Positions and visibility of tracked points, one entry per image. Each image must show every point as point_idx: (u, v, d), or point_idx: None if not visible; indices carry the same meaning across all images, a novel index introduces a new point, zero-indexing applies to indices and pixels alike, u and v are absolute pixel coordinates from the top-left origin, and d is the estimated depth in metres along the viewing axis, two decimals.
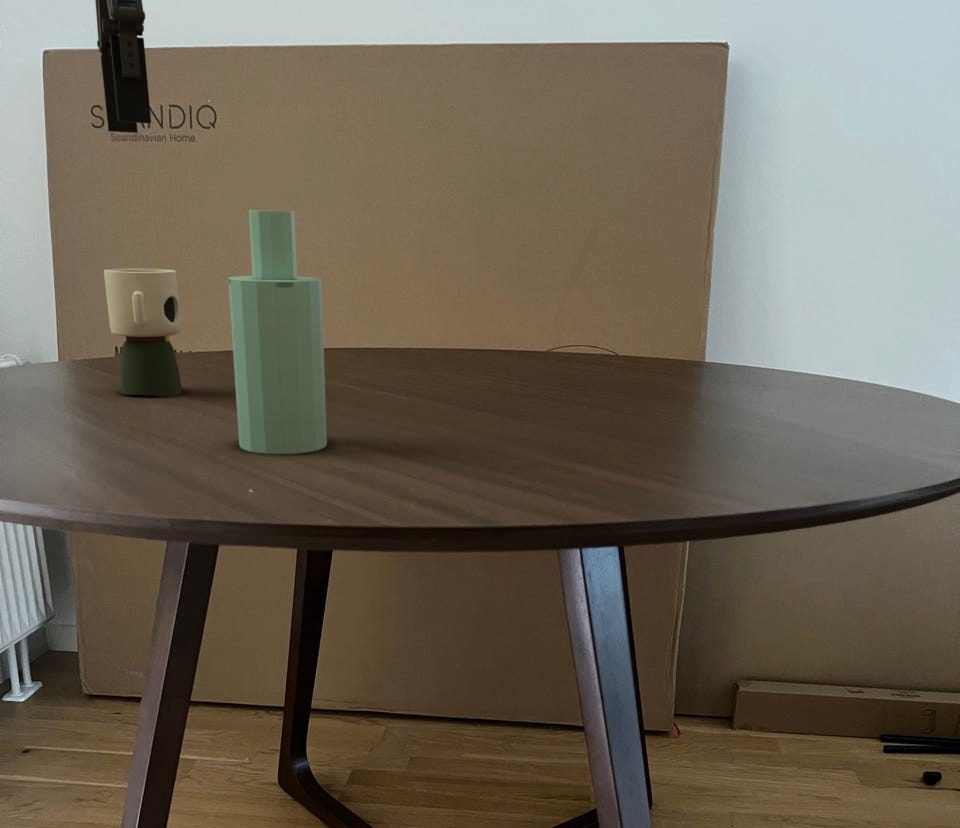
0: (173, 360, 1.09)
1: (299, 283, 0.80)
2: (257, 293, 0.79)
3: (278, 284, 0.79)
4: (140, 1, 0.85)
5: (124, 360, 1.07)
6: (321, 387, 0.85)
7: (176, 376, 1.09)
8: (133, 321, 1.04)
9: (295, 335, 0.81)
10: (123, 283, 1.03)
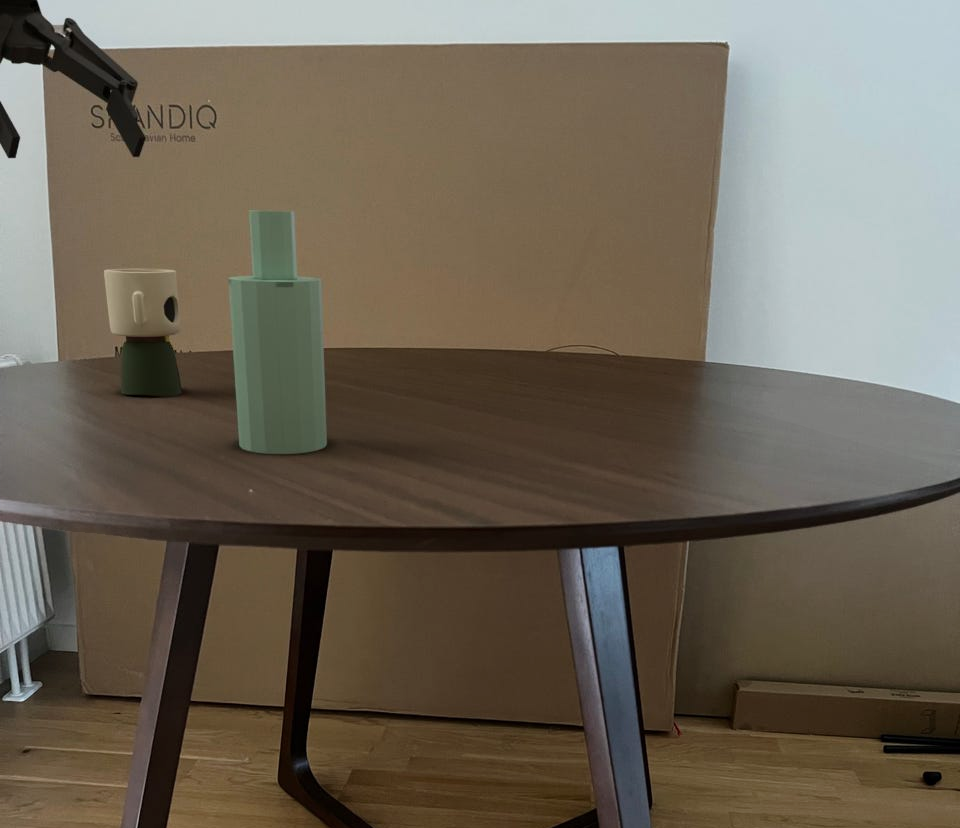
0: (173, 360, 1.09)
1: (299, 283, 0.80)
2: (257, 293, 0.79)
3: (278, 284, 0.79)
4: None
5: (124, 360, 1.07)
6: (321, 387, 0.85)
7: (176, 376, 1.09)
8: (133, 321, 1.04)
9: (295, 335, 0.81)
10: (123, 283, 1.03)
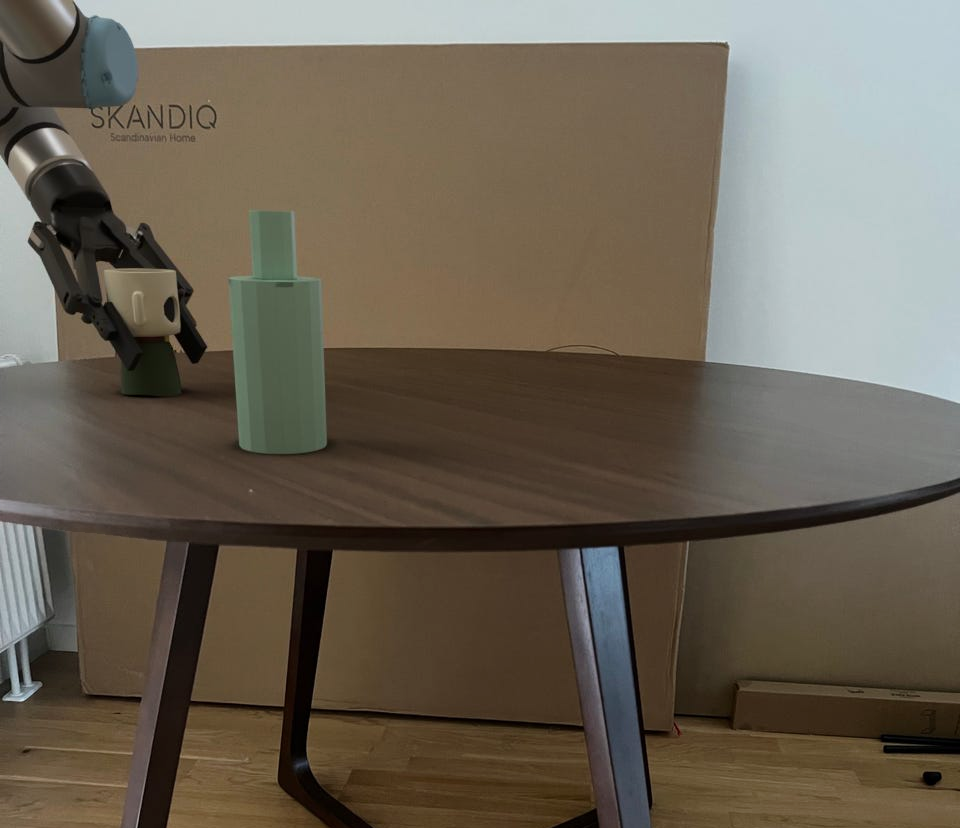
0: (173, 360, 1.09)
1: (299, 283, 0.80)
2: (257, 293, 0.79)
3: (278, 284, 0.79)
4: None
5: None
6: (321, 387, 0.85)
7: (176, 376, 1.09)
8: (133, 321, 1.04)
9: (295, 335, 0.81)
10: (123, 283, 1.03)
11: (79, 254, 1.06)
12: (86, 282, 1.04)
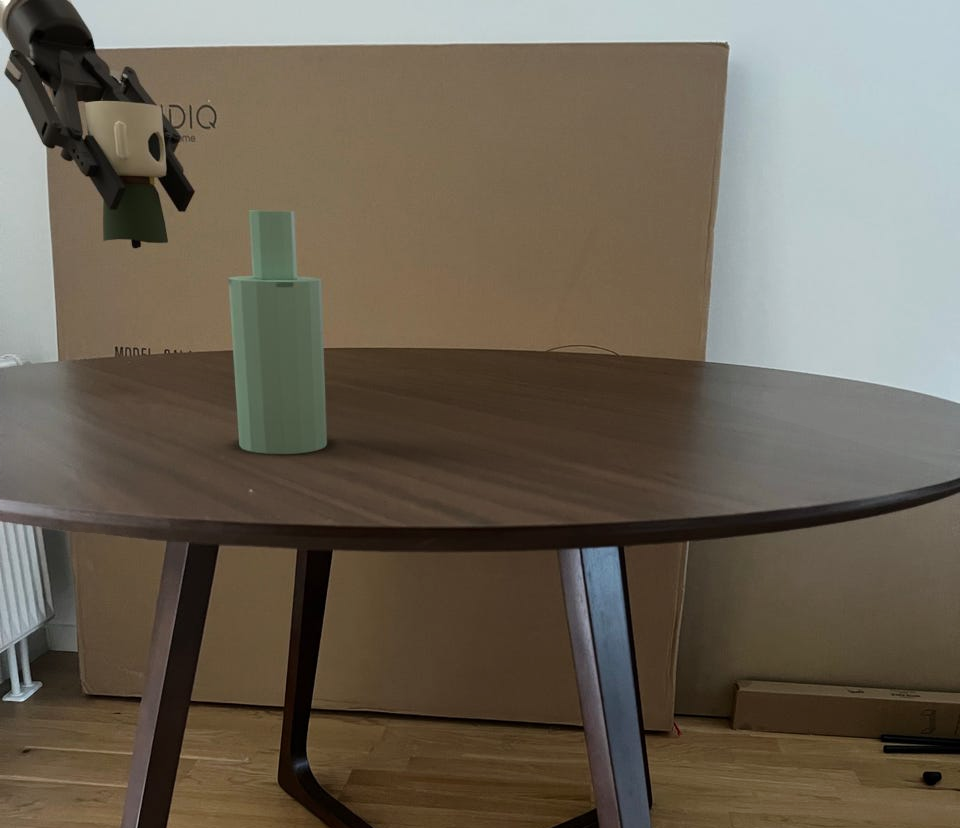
0: (158, 205, 1.03)
1: (299, 283, 0.80)
2: (257, 293, 0.79)
3: (278, 284, 0.79)
4: None
5: None
6: (321, 387, 0.85)
7: (161, 223, 1.03)
8: (115, 156, 0.98)
9: (295, 335, 0.81)
10: (105, 114, 0.97)
11: (59, 89, 1.00)
12: (65, 115, 0.98)
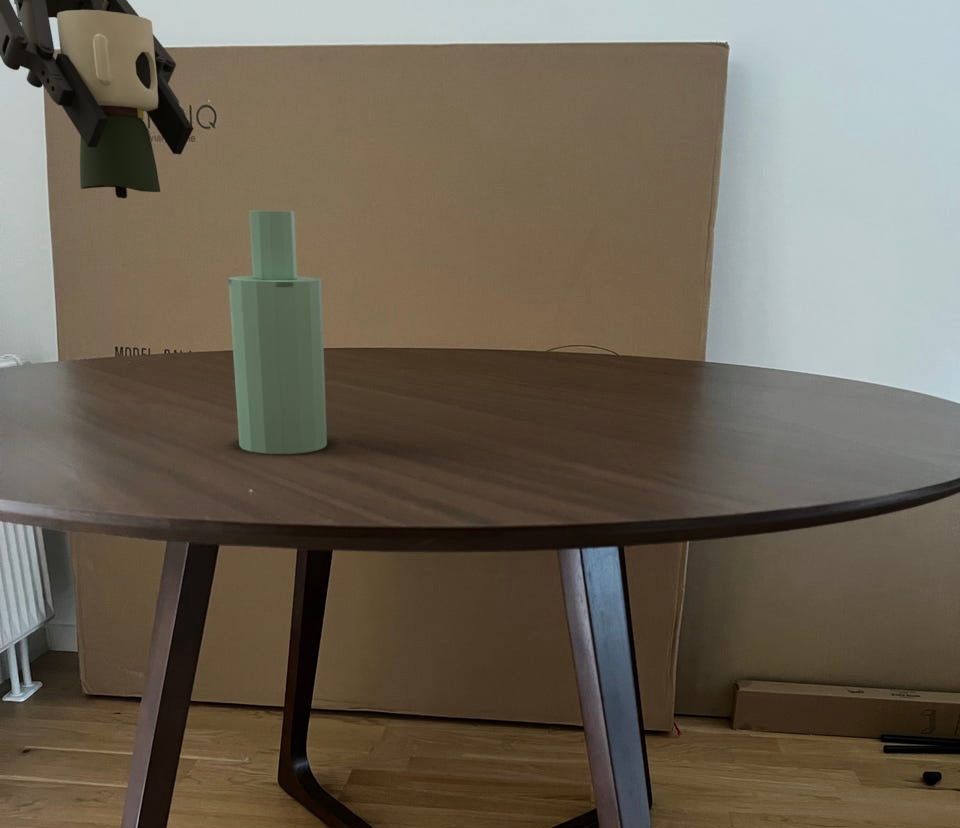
0: (148, 144, 0.84)
1: (299, 283, 0.80)
2: (257, 293, 0.79)
3: (278, 284, 0.79)
4: None
5: None
6: (321, 387, 0.85)
7: (152, 166, 0.84)
8: (95, 80, 0.79)
9: (295, 335, 0.81)
10: (81, 26, 0.78)
11: None
12: (33, 29, 0.79)
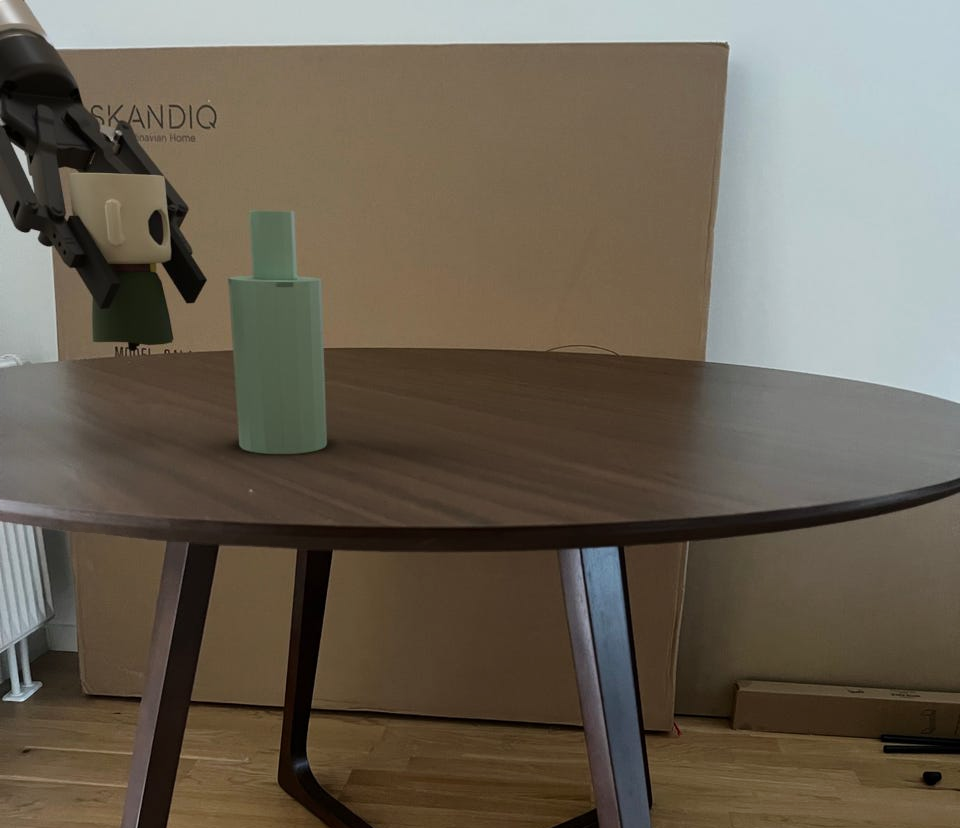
0: (161, 297, 0.82)
1: (299, 283, 0.80)
2: (257, 293, 0.79)
3: (278, 284, 0.79)
4: None
5: None
6: (321, 387, 0.85)
7: (165, 319, 0.83)
8: (107, 241, 0.78)
9: (295, 335, 0.81)
10: (93, 189, 0.76)
11: (36, 154, 0.80)
12: (44, 189, 0.78)
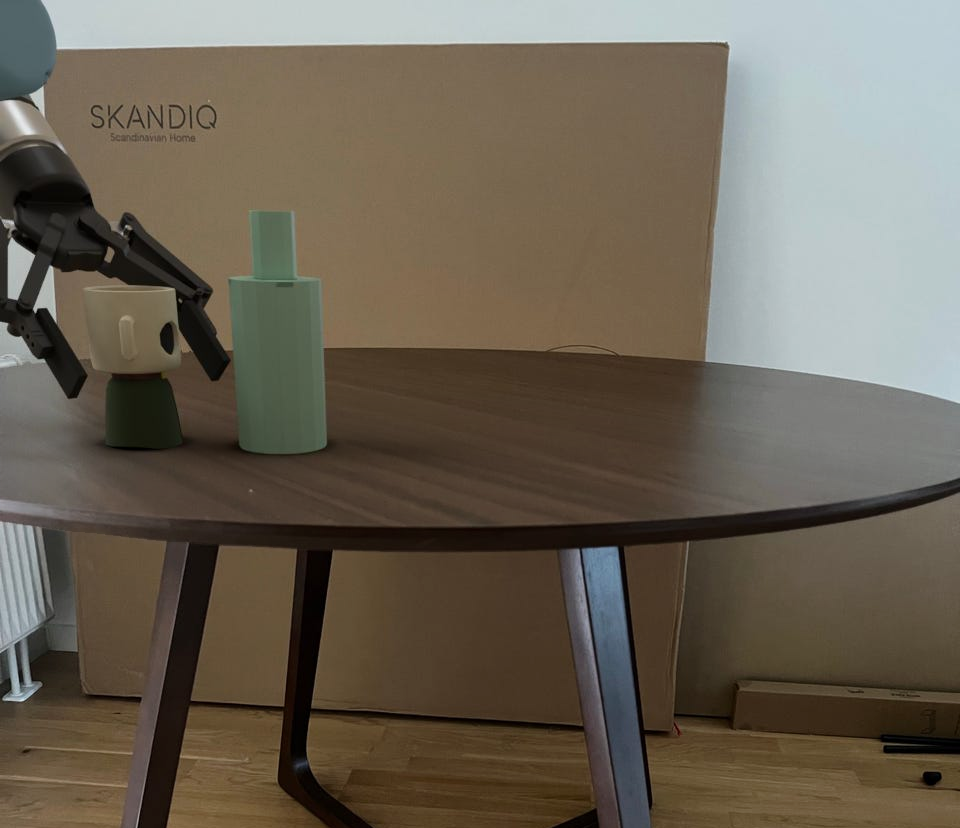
0: (172, 402, 0.85)
1: (299, 283, 0.80)
2: (257, 293, 0.79)
3: (278, 284, 0.79)
4: None
5: (109, 402, 0.84)
6: (321, 387, 0.85)
7: (176, 422, 0.86)
8: (120, 354, 0.81)
9: (295, 335, 0.81)
10: (107, 306, 0.79)
11: None
12: None
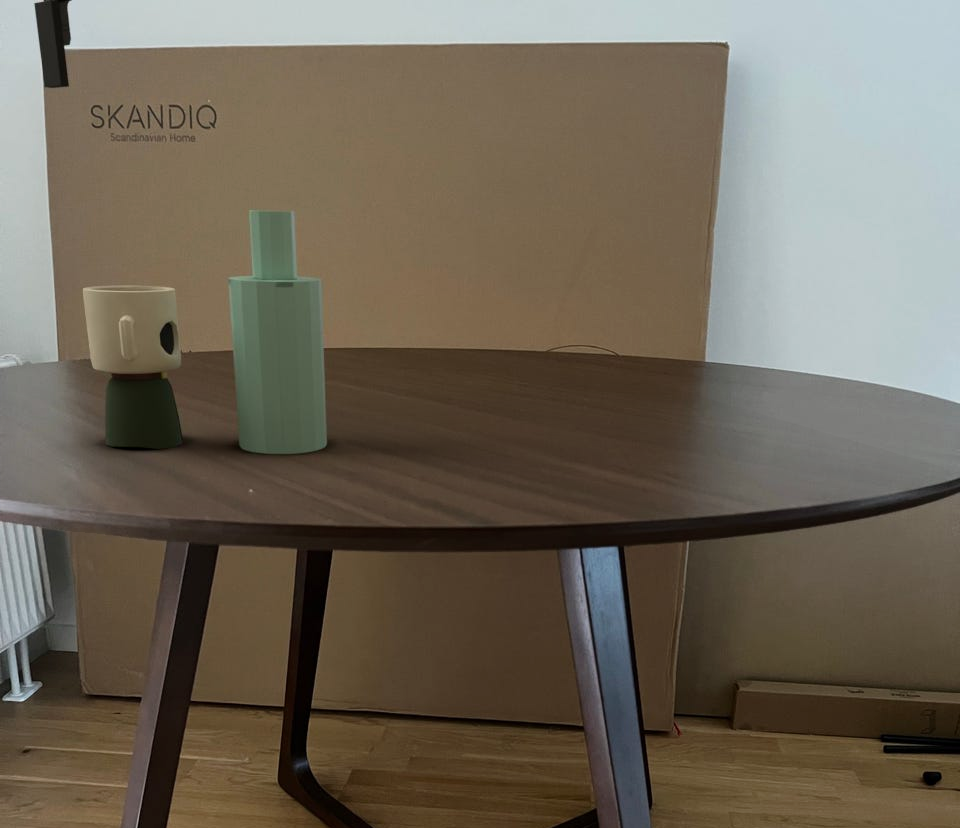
0: (172, 402, 0.85)
1: (299, 283, 0.80)
2: (257, 293, 0.79)
3: (278, 284, 0.79)
4: None
5: (109, 402, 0.84)
6: (321, 387, 0.85)
7: (176, 422, 0.86)
8: (120, 354, 0.81)
9: (295, 335, 0.81)
10: (107, 306, 0.79)
11: None
12: None
